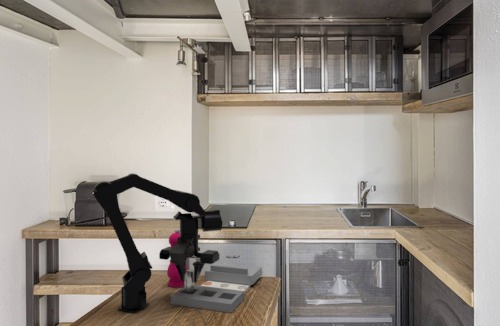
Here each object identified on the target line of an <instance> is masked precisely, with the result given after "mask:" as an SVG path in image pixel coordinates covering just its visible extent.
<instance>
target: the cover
mask: <svg viewBox="0 0 500 326" xmlns="http://www.w3.org/2000/svg"><path fill="white" fill-rule="evenodd" d="M261 276H263V266H259V265H258V266H256V265H247V264H236V263H224V262H215V264H210V267H209V268H207V269H206V270H204V281H205V280H206V281H208V280H213V281H222V282H230V283H239V284H248V285H251V286H252V285H254V284H255V283H256V282H257V281H258V280H259V279H260V278H261Z"/></svg>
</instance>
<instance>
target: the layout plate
mask: <svg viewBox="0 0 500 326" xmlns="http://www.w3.org/2000/svg"><path fill="white" fill-rule="evenodd" d="M200 286H207V287H215V288H223V289H231V290H239V291H244V293H245V292H246V291H247V290H248V289H249V288H250V287H251V286H252V285H248V284H239V283H230V282H222V281H213V280H206V281H205V282H202V283H201V285H200Z"/></svg>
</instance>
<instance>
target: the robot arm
mask: <svg viewBox="0 0 500 326" xmlns="http://www.w3.org/2000/svg"><path fill="white" fill-rule="evenodd" d="M133 188H136V189H138V190H140V191H142V192H146V193H148V194H150V195H153V196H156V197H158V198H161V199H163V200H167V201H168V202H170V203H172V204H173V205H175V206H176V207H178V208H179V209H182V210H183V211H185V212H186V213H185V212H184V213H182V212H181V211H177V213H175V214H174V216H173V219H174V220H175V221H179V229H180V232H179V233H180V237H178V239H177V244H176V245H175V246H174V247H171V246H167V247H164V248H163V249H161V250H160V251H159V255H158V256H159V257H158V258H159V260H165V261H167V260H169V259H170V260H169V263H170V262H171V263H173V264H174V265H175V266H176V268H177V270H178V272H179V275H180V278H181V281H182V282H183V281H184V271H185V270H186V265H187V259H195V261H194V262H192V266H193V268H194V269H193V270H194V284H197V282H198V281H199V278H200V275H201V273H202V270H203V268H204V266H205V264H207V265H214V263H217V261H219V260H220V252H219V251H218V250H211V249H207V250H205V251H203V252H200V251H201V247H200V246H199V239H201V234H199V229H200V230H201V231H202V232H203V233H204V232H216V231H221V230H222V229H223V220H222V216H221V214H220V213H221V210H219V209H212V210H205V209H204V208H203V206H201V201H200V198H199V196H197V195H196V194H194V193H191V192H186V191H181V190H177V189H171V188H170V187H168V186H164V185H161V184H160V183H157V182H155V181H152V180H149V179H147V178H145V177H141V175H138V174H137V173H134V172H133V173H128V175H125V176H122V177H120V178H118V179H114V180H111V181H107V180H106V181H105V180H104V181H99V182H98V183H97V184H95V186H94V188H93V196H94V198H95V200H96V201H97V202H98V204H99V205H100V207H101V208H102V210H103V211H104V212H105V214H106V215H107V216H108V219H109V221H110V223H111V225H112V228H113V230H114V232H115V234H116V237H117V239H118V241H119V243H120V245H121V247H122V250H123V252H124V254H125V255H124V256H125V257H126V263H127V267H128V271H127V272H126V273H124V275H123V276H122V277H121V279H122V283H123V286H121V290H120V291H121V293H120V294H121V296H120V298H121V299H120V301H121V303H120V304H121V306H119V307H118V308H117V310H118V311H122V312H128V313H134V314H135V313H138V312H139V311H141V310H143V309H144V308H146V307H148V306H149V302H147V291H146V283H147V282H149V280H150V279H151V277H152V269H153V266H152V264H151V262H150V260H149V258H148V255H147V253H146V251H143V252H140V251H139V249H138V248H137V246H136V244H135V241H134V239H133V237H132V235H131V232H130V230H129V227H128V225H127V223H126V221H125V219H124V216H123V215H122V212H121V210H120V206H119V205H120V204H119V200H118V196H117V195H119V194H121V193H124V192H126V191H128V190H130V189H133ZM192 213H195V214H196V215H193V214H192Z"/></svg>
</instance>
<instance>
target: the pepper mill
mask: <svg viewBox="0 0 500 326" xmlns="http://www.w3.org/2000/svg"><path fill="white" fill-rule="evenodd" d="M178 237H180V227H178V228H175V229H174V232H173V233H171V234H170V236H169V237H168V243H169V245H170V247H174V246H175V245H176V244H177V239H178ZM186 270H189V269H188V266H187V264H186ZM166 272H167V273H166V275H167V277H168V278H169V279H168V286H169V287H171V288H183V287H185V280H184V281H183V282H182V281H181V278H180V275H179V272H178V270H177V268H176V266H175V265H174V264H173V263H171V262H170V261H169V264H168V267H167V271H166Z"/></svg>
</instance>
